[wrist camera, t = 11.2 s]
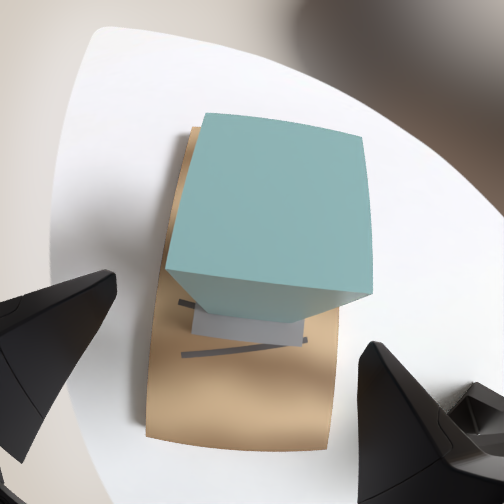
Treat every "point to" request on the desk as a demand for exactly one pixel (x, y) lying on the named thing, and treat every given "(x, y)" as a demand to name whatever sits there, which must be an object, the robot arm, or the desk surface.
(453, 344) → the desk surface
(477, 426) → the phone stand
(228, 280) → the block
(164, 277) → the oak board
